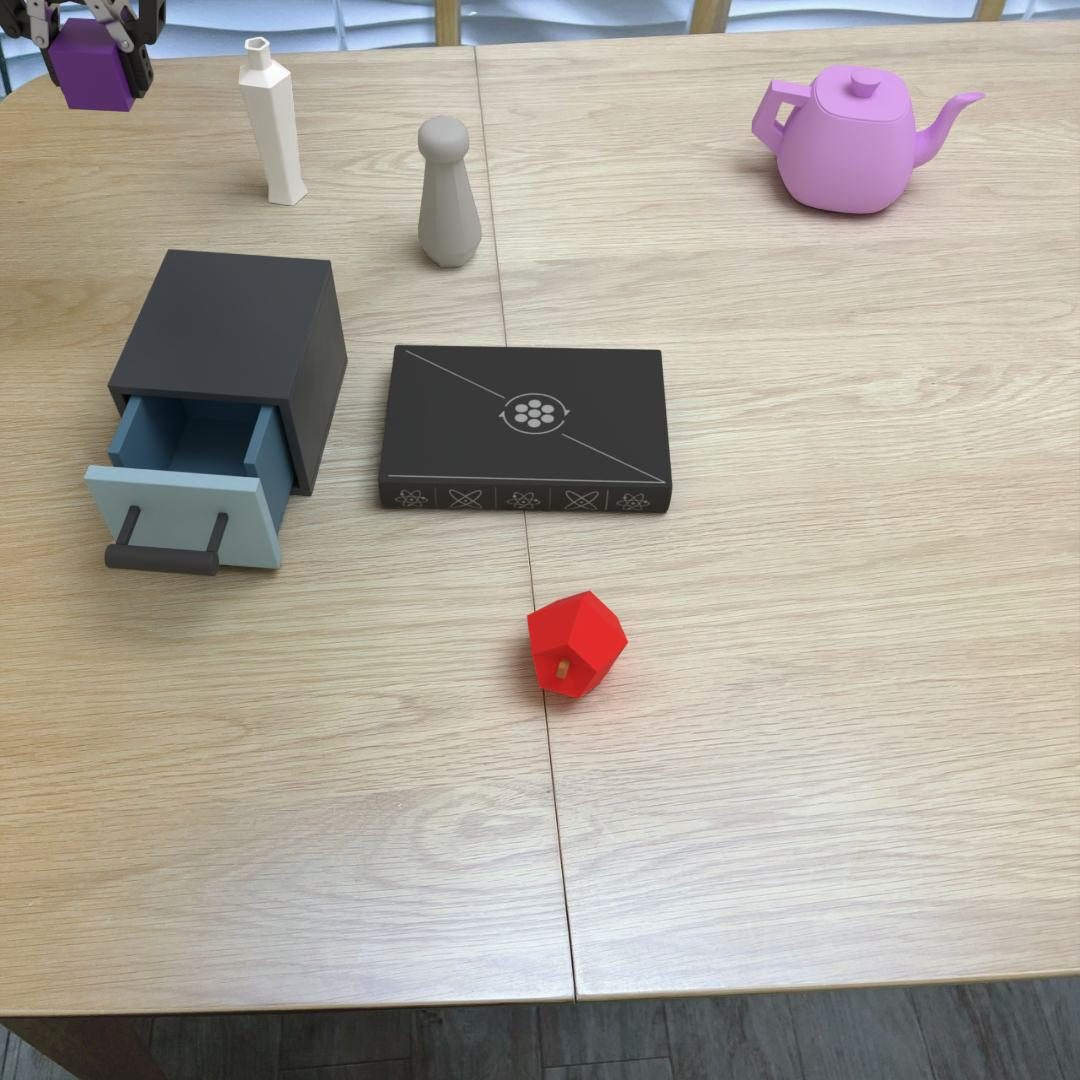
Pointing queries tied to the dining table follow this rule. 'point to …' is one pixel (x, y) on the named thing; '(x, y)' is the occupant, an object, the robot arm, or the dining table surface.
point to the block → (90, 67)
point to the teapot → (850, 137)
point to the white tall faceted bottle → (272, 121)
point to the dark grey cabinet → (242, 343)
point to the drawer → (194, 486)
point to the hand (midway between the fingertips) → (106, 89)
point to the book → (526, 429)
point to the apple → (574, 643)
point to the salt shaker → (447, 194)
